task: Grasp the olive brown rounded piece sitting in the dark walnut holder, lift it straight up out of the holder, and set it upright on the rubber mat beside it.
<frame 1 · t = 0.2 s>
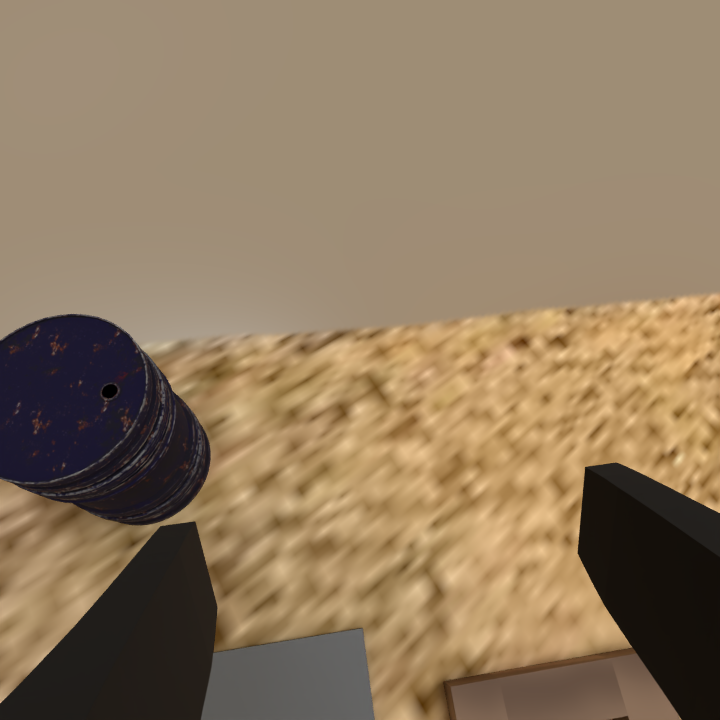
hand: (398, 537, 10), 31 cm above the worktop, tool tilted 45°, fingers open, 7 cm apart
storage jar: (149, 462, 41), on the worktop
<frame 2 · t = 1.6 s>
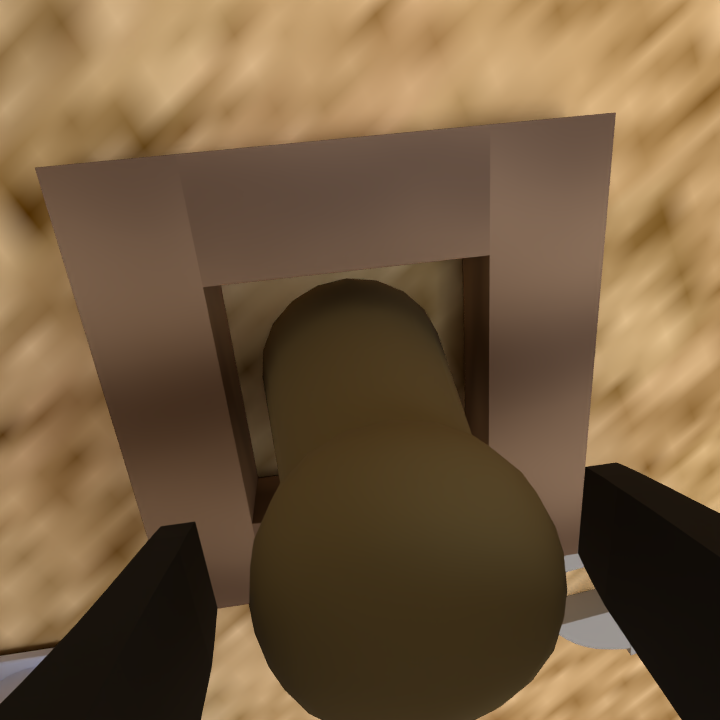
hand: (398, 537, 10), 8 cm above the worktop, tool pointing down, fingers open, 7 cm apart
olive brown rounded piece: (352, 365, 18), resting in walnut holder
walnut holder: (353, 367, 17), on the worktop
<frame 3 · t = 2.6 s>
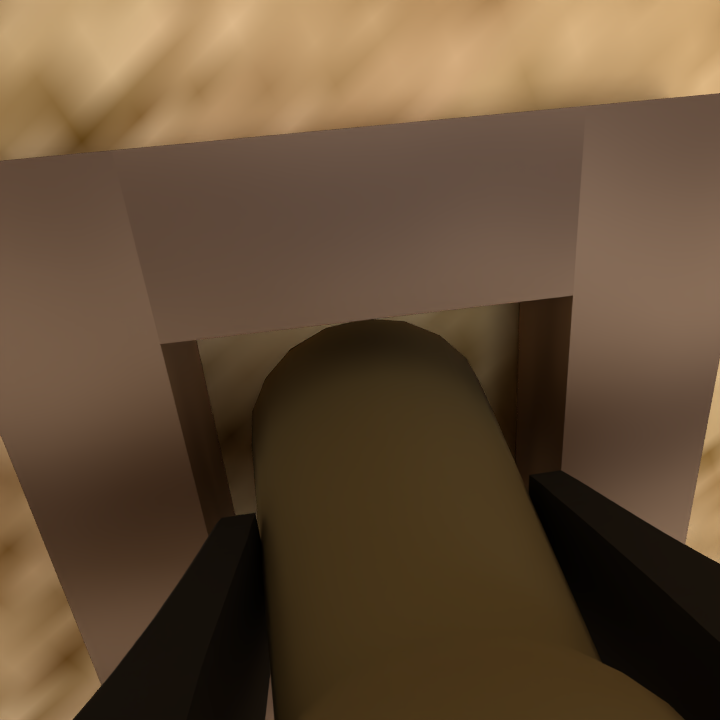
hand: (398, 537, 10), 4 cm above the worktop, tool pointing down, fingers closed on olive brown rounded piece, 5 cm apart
olive brown rounded piece: (370, 428, 13), resting in walnut holder, touching gripper
walnut holder: (371, 432, 13), on the worktop
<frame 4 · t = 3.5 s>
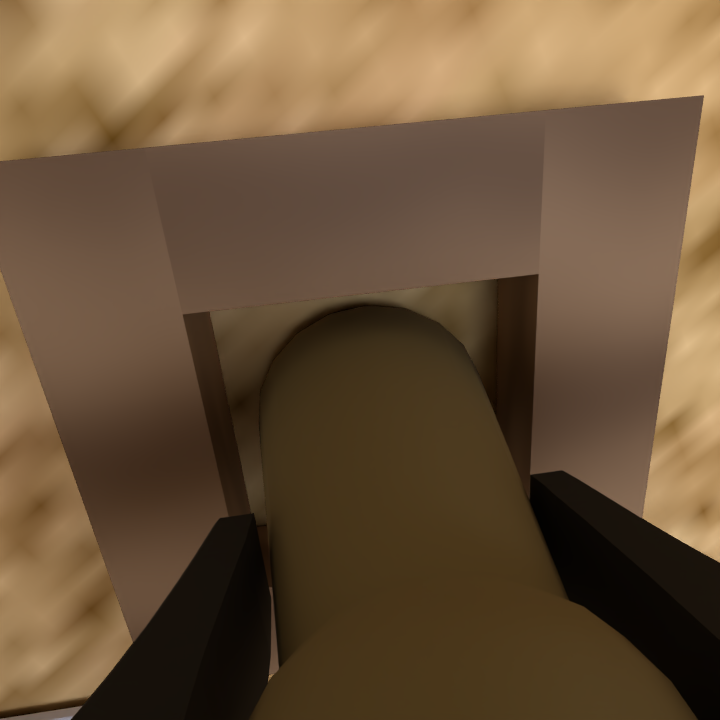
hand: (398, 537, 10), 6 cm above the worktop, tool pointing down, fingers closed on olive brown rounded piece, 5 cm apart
olive brown rounded piece: (371, 410, 14), point 1 cm above the worktop, touching gripper
walnut holder: (366, 401, 15), on the worktop
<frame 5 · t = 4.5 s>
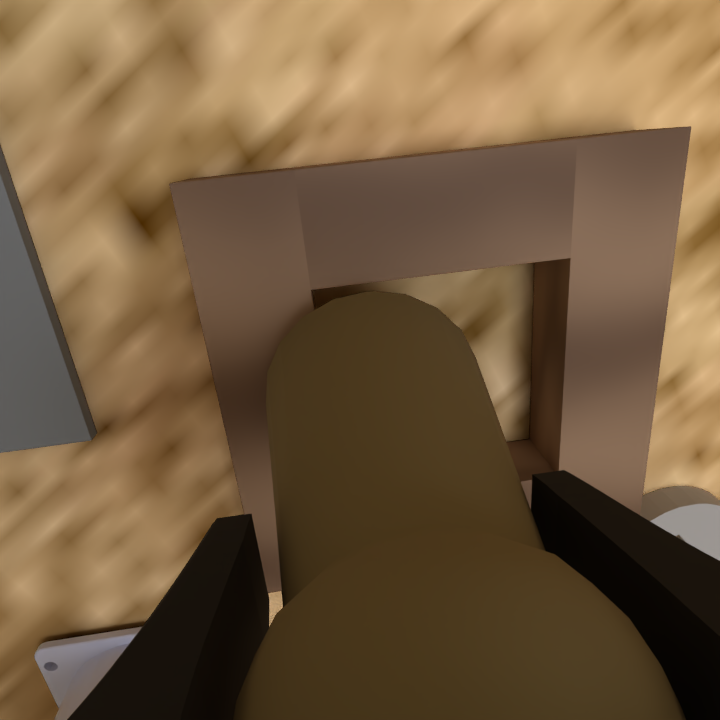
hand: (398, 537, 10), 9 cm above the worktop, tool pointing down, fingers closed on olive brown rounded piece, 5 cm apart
olive brown rounded piece: (372, 391, 15), point 4 cm above the worktop, touching gripper
walnut holder: (429, 362, 19), on the worktop
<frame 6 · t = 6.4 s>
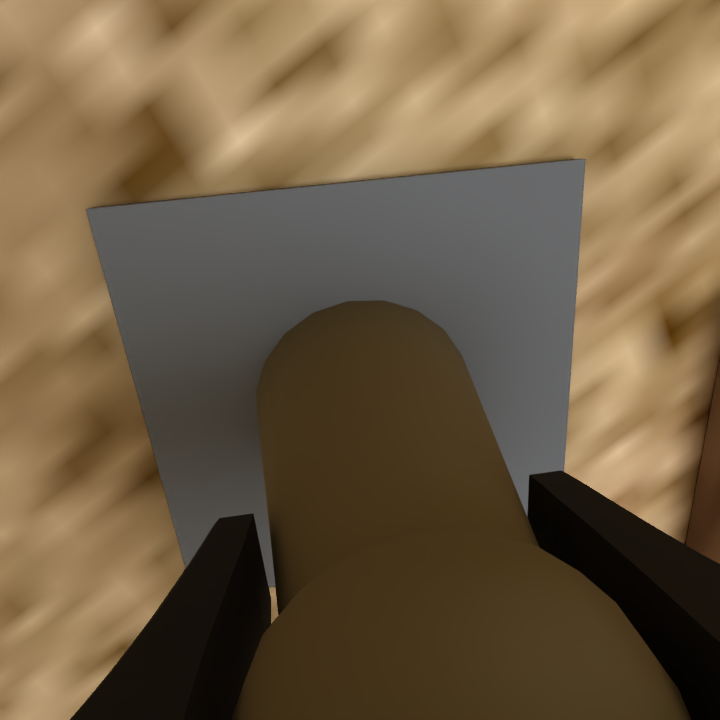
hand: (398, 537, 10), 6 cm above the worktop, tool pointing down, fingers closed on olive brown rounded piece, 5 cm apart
olive brown rounded piece: (364, 400, 15), resting on rubber mat, touching gripper
rubber mat: (362, 399, 15), on the worktop
when the fingers open (6 cm above the worktop, at t = 6.6 s): olive brown rounded piece stays where it is, resting on rubber mat.
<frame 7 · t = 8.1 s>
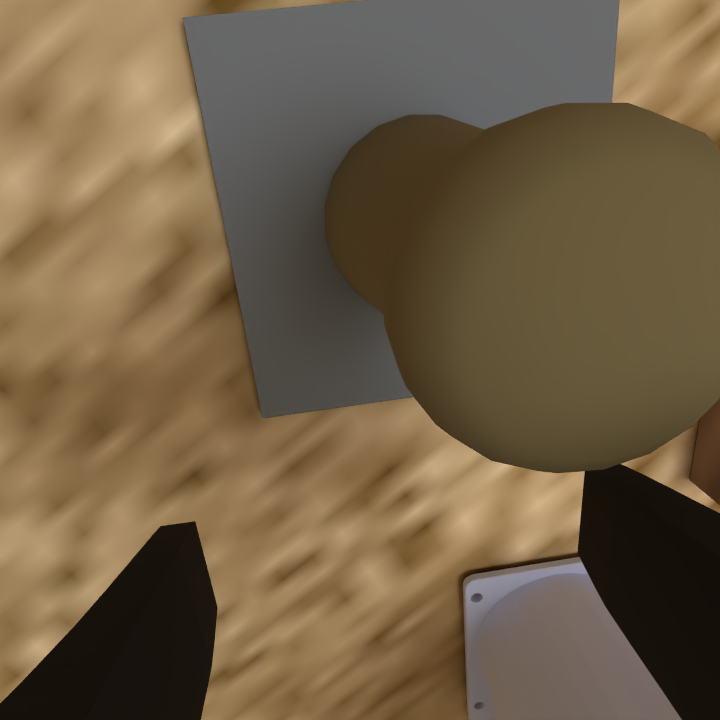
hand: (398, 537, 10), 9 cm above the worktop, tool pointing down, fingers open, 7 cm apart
olive brown rounded piece: (419, 219, 16), resting on rubber mat
rubber mat: (417, 221, 17), on the worktop
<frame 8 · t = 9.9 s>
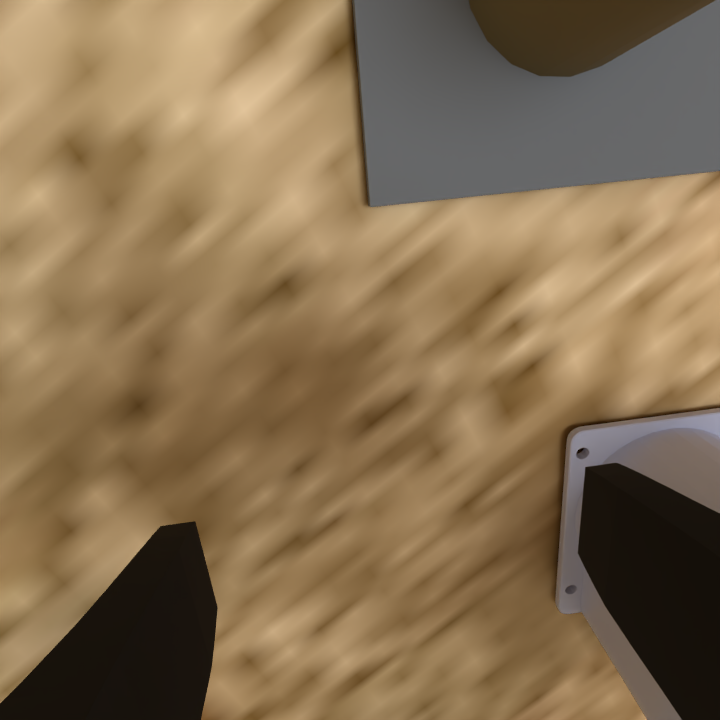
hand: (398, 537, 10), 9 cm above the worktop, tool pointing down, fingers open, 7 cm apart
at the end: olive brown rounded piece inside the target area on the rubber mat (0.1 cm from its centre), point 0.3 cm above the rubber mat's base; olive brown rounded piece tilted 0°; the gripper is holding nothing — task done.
